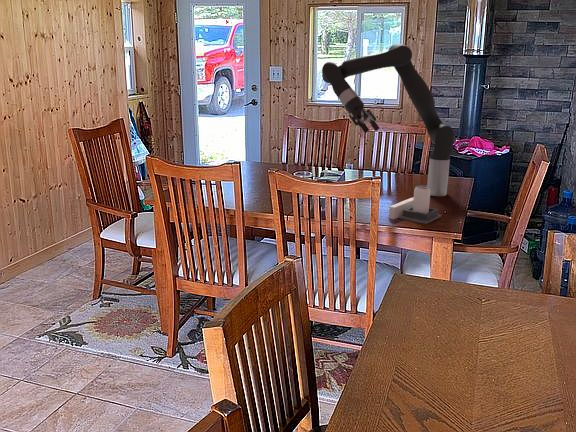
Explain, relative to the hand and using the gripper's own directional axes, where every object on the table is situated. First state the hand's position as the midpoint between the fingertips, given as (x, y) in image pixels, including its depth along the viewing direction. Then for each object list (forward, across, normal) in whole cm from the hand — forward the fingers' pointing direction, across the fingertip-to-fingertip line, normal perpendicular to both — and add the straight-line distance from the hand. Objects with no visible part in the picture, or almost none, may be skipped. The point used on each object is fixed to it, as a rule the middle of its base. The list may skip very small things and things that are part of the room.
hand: (372, 130), depth 245 cm
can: (+41, -3, +4) cm, 41 cm away
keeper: (+42, -3, +4) cm, 42 cm away
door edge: (+36, -3, +10) cm, 38 cm away
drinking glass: (+15, -20, +31) cm, 40 cm away
